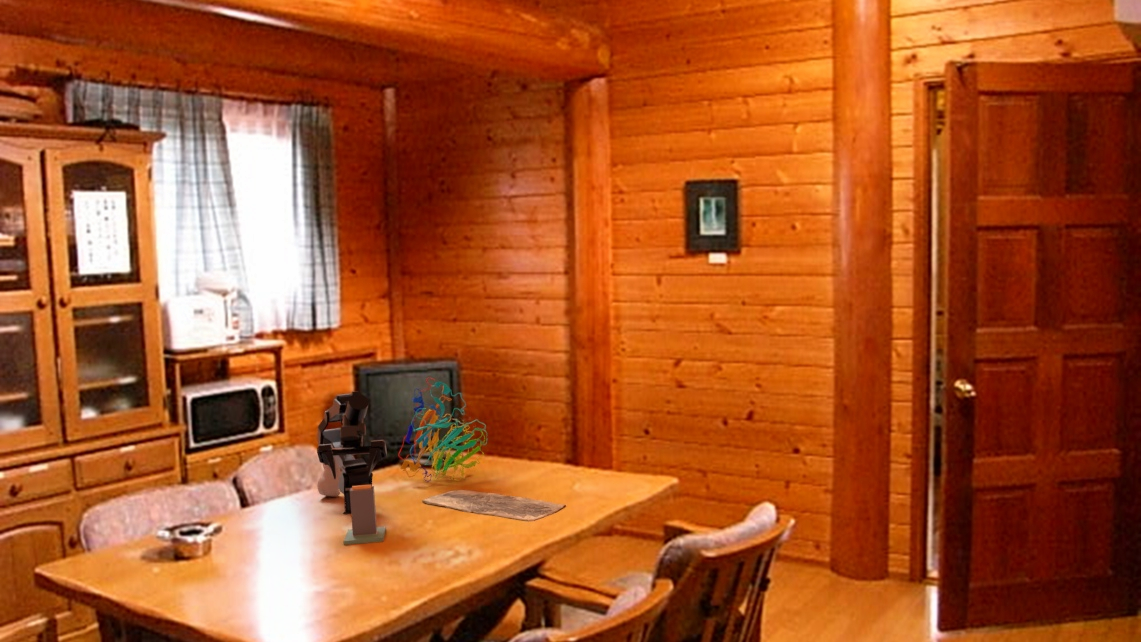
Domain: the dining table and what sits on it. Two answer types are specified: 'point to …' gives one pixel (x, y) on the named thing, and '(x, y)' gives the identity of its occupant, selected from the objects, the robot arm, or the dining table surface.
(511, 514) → the relief sculpture
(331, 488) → the figurine
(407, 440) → the protein model
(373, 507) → the block
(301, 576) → the dining table surface
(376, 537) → the board
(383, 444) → the robot arm
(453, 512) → the dining table surface
